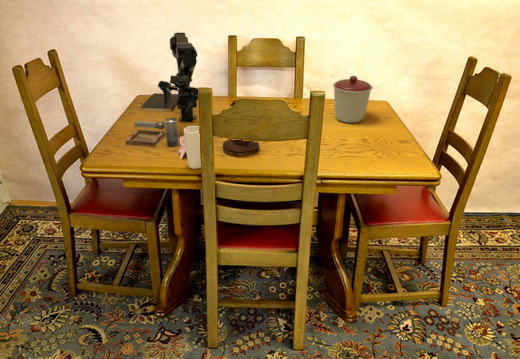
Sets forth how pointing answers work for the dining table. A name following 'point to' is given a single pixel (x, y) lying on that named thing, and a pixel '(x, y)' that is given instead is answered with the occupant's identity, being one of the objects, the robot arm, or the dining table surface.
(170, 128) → the polished metal cylinder
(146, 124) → the grey ratchet handle
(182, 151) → the lily
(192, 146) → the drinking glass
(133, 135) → the taupe tray
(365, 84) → the canister
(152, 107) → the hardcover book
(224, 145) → the dark round disc base
